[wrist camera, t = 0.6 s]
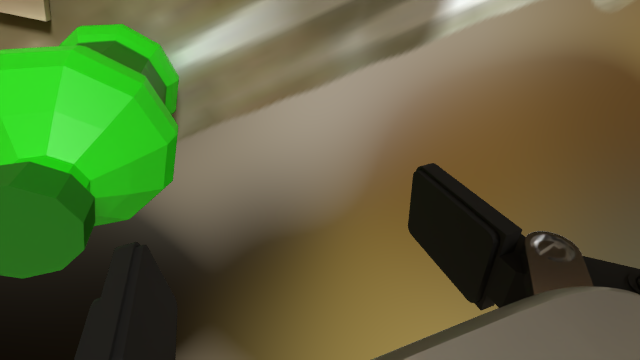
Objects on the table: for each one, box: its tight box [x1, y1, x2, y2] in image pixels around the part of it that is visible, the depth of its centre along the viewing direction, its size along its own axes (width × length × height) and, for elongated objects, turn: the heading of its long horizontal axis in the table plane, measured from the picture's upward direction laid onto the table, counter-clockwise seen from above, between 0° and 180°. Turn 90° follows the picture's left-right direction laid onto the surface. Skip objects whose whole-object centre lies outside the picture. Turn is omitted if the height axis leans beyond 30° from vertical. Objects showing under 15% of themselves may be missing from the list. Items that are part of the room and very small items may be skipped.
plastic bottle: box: [0, 24, 179, 278], centre depth 22 cm, size 10×10×25 cm
